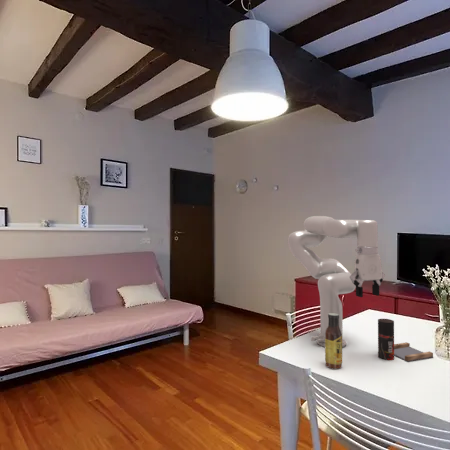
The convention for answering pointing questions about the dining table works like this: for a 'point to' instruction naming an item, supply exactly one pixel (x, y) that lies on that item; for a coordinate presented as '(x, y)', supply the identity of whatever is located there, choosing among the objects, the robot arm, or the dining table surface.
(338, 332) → the sauce bottle
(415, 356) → the side rails
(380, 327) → the deodorant
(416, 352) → the mat
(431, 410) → the dining table surface
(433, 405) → the dining table surface
